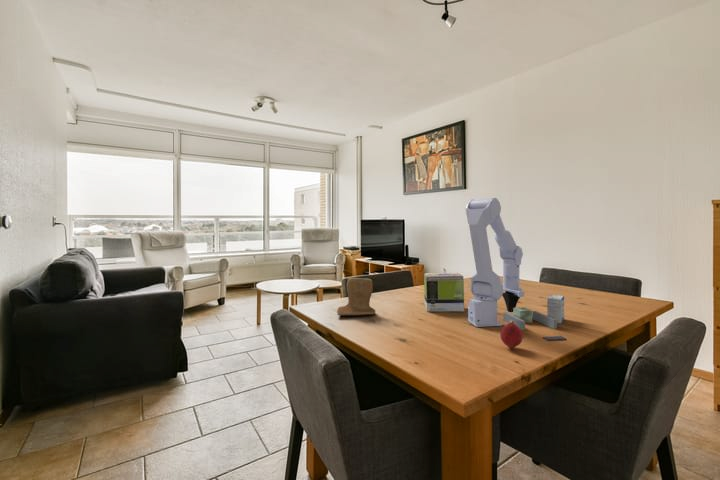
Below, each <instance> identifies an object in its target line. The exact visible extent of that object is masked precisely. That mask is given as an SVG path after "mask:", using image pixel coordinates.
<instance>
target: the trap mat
mask: <svg viewBox="0 0 720 480" xmlns="http://www.w3.org/2000/svg"><path fill="white" fill-rule="evenodd" d="M542 339H544V340H545V341H547V342H548V341H549V342H551V341H567V338H566V337H565V336H562V335H555V336H554V335H553V336H543V337H542Z"/></svg>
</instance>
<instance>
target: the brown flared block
mask: <svg viewBox="0 0 720 480" xmlns="http://www.w3.org/2000/svg"><path fill="white" fill-rule="evenodd" d="M373 285H374V283H373V280H372V279H371V278H362V277H348V278H347V281H346V293H347V299H348V303H347V304H346V305H342V306H339V307H338V308H337V312H336V313H337V316H343V317H351V316H355V317H357V316H368V315H374V314H376V309H375V308H373V307H371V306H370V300H371V297H372V295H373Z"/></svg>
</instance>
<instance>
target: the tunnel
mask: <svg viewBox="0 0 720 480" xmlns="http://www.w3.org/2000/svg"><path fill="white" fill-rule="evenodd" d="M502 315H503V316H502V317H503V319H502V320H503V321H504V322H505V323H507V324H509V322H510V321H511V320H512V321H514V324H515V325H516V326H518V327H519V328H520V330H521V331H526V323H525V321H524V320H522V319H519V318H517V317H515V316H513V314H511V313H510V312H508V311H504V312H503V313H502ZM533 320H534V321H536V322H537V323H540V324H542V325H543V326H546V327H549V328H550V329H553V330H557V329H558V324H557V320H556V319H554V318H551V317H549V316H547V315H546V314H544V313H541V312H540V311H537V310H532V321H533Z"/></svg>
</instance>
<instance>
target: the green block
mask: <svg viewBox="0 0 720 480" xmlns="http://www.w3.org/2000/svg"><path fill="white" fill-rule="evenodd" d="M512 313H513V314H512V315H513V316H515V317H517V318H519V319H522V320H524V321H525V324H532V323H533V319H532V313H533V310H532V309H529V308H527V307H525V306H524V307H516V308H513V312H512Z"/></svg>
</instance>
